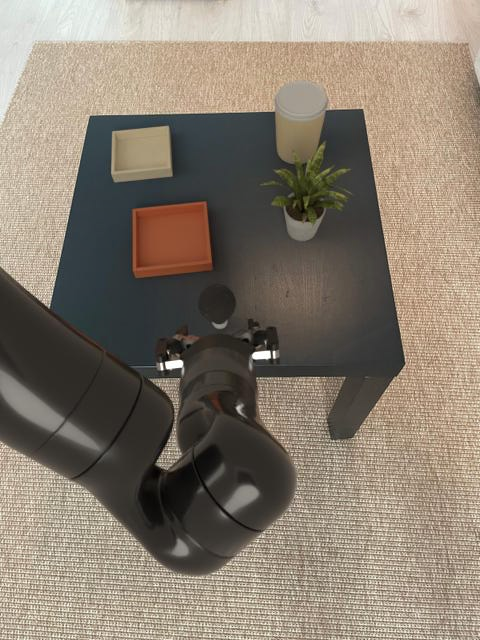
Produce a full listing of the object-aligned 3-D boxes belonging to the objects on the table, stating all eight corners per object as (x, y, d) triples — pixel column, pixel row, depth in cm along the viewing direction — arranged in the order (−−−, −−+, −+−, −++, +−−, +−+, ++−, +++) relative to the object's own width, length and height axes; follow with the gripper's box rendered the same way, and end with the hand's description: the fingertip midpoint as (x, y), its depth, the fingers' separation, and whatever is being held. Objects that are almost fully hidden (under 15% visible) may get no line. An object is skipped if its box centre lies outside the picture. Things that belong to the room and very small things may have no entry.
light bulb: (204, 308, 79) (198, 276, 70) (238, 309, 78) (236, 277, 69) (201, 339, 76) (194, 310, 67) (236, 340, 76) (233, 311, 67)
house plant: (281, 280, 80) (286, 218, 66) (243, 222, 86) (240, 153, 72) (353, 247, 83) (373, 180, 68) (312, 192, 89) (322, 120, 74)
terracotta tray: (135, 278, 82) (132, 271, 80) (135, 217, 88) (132, 208, 85) (213, 270, 82) (211, 262, 80) (207, 209, 88) (206, 201, 86)
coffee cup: (315, 130, 96) (322, 76, 85) (324, 165, 92) (333, 112, 81) (269, 135, 96) (270, 81, 85) (276, 170, 91) (278, 118, 81)
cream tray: (114, 182, 91) (111, 173, 89) (115, 140, 96) (112, 131, 94) (172, 176, 92) (170, 167, 90) (170, 134, 97) (168, 125, 95)
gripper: (288, 340, 46) (270, 295, 61) (139, 356, 46) (158, 307, 61) (292, 410, 48) (274, 350, 64) (151, 425, 48) (167, 361, 63)
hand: (217, 329), depth 62 cm, fingers open, 8 cm apart
